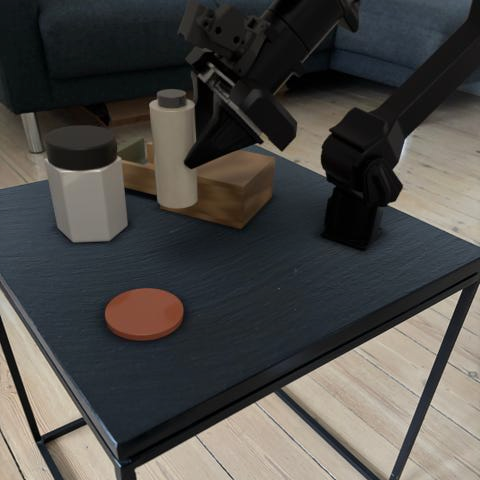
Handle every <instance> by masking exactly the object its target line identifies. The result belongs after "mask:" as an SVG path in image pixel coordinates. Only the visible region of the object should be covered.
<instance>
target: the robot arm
mask: <svg viewBox="0 0 480 480" xmlns="http://www.w3.org/2000/svg"><path fill="white" fill-rule="evenodd" d="M361 3H362V1H361V0H273V2H272V3H271V4H270V5H269V6H268V8H266V10H265V11H264V12H263V13H262V15H261V16H260V17H258V16H256V15H254V14H252V15H248V16H247V17H245V16H246V14H245V12H244V11H242V10H240V9H238V8H236V7H234V6H233V5H231V4H229V3H227V2H223V3H222V4H220V6H218V7H217V8H216V10H213V9H212V8H210V7H208V6H206V5H204V4H203V3H200V2H199V1H196V0H188V3H187V5H186V8H185V10H184V13H183V16H182V19H181V22H180V24H179V27H178V30H177V35H178V36H180V37H181V36H182V37H184V40H185V41H186V42H188V43H190V44H191V45H193V46H194V47H193V49H191V51H190V52H189V53H188V55H187V56H186V57H185V58H184V60H185V61H186V63H188V64H189V65H190V66H191V68H193V69H194V70H195V72H194V71H193V70H191V72H190V78H191V81H192V88H193V97H192V99H191V101H193V102H194V103H195V120H196V142H195V144H194V145H193V147H192V148H191V150H190V151H189V153H188V155H187V156H186V158H185V160H184V164H185V165H186V166H187V167H188V168H189V169H194V168H196V167H199V166H201V165H203V164H206V163H208V162H210V161H213V160H215V159H217V158H220V157H222V156H225V155H227V154H229V153H232V152H235V151H237V150H243V149H245V148H249V147H251V146H254V145H257V144H258V145H259V146H261V145H263V144H264V143H265V140H263V139H262V138H261V135H265V137H266V138H267V140H268V141H269V142H270V143H271V144H272V145H273V146H274V147H275V148H276V149H278V150H279V151H280V152H281V153H283V152H284V151H285V150H286V149H287V148H288V146H289V145H290V144H291V143H292V142H293V141H294V140H295V139H296V138H297V132H298V121H297V120H296V119H295V117H294V116H293V115H292V114H291V113H290V112H289V111H288V110H287V109H286V107H285V106H284V105H283V104H282V103H281V102H280V101H279V99H278V98H277V97H276V96H275V95H276V94H277V93H278V91H279V90H280V89H281V88H282V87H283V86H284V85H285V83H286V82H287V81H288V80H289V79H290V78H291V76H293V75H294V76H296V77H297V78H299V79H301V78H302V77H303V75H304V74H306V72H307V71H308V68H307V67H306V66H305V65H304V62H305V61H306V60H307V59H308V57H309V56H310V55H311V54H312V53H313V52H314V50H315V49H316V48H318V46H319V45H320V44H321V43H322V42H323V40H324V39H325V38H326V37H327V36H328V35H329V33H331V32H332V30H333V29H334V28H335V27H336V25H337V26H338V27H340V28H342V29H345V30H347V31H348V32H351V33H353V34H356V33H357V32H358V31H359V29H360V14H359V13H360V8H361ZM470 3H471V4H470V6H469V10H468V14H467V17H466V20H465V21H464V22H463V23H462V24H461V25H460V26H459V27H458V28H457V29H456V30H455V31H454V32H453V33H452V34H451V35H450V36H449V37H448V38H447V39H446V40H445V41H444V42H443V43H442V44H441V45H440V46H439V47H438V48H437V49H436V50H435V51H434V52H433V53H431V55H430V56H429V57H428V58H427V59H426V60H425V61H424V62H423V63H422V64H421V65H420V66H418V68H417V69H416V70H415V71H414V72H413V73H412V74H411V75H410V76H409V77H408V78H406V79H405V81H403V83H402V84H401V85H399V87H398V88H396V90H394V91H393V93H392V94H390V95H389V96H388V97H387V98H386V100H384V102H382V103H381V104H380V106H378V107H377V108H375V109H373V110H370V111H366V110H364V109H361V108H360V107H357V106H354V107H352V108H351V109H350V110H348V111H347V113H346V114H345V115H344V117H343V118H342V119H341V120H340V121H339V122H338V123H336V125H334V126H332V127H330V128H329V129H328V132H330V134H329V135H328V136H327V137H326V138H325V140H324V141H323V143H322V144H321V146H320V147H321V153H320V165H321V168H322V169H323V170H324V172H325V178H326V181H327V182H328V183H329V184H332V185H333V186H335V187H333V189H332V193H331V195H330V196H329V197H328V198H327V202H326V208H325V213H324V220H323V226H324V228H323V229H322V230H321V231H320V236H321V237H323V238H326V239H329V240H332V241H335V242H338V243H341V244H344V245H347V246H349V247H353V248H356V249H358V250H361V251H366V250H367V249H368V248H370V246H371V245H372V244H373V243H374V242H375V241H376V240H377V239H378V238H379V237H380V236H381V235H382V234H383V231H384V229H383V228H382V227H381V224H382V219H383V214H384V211H385V208H387V207H388V205H389V204H392V203H395V202H397V200H398V198H399V196H400V194H401V192H402V190H403V188H404V185H403V182H402V181H401V180H400V179H399V176H398V175H397V174H396V172H395V171H394V169H395V168H396V167H397V165H398V164H399V162H400V159H401V156H402V153H403V149H404V146H405V142H406V140H407V138H408V137H409V136H410V135H411V134H412V133H413V132H414V131H415V130H416V129H417V128H419V126H421V124H422V123H424V122H425V120H426V119H428V118H429V117H430V116H431V114H433V113H434V111H436V110H437V109H438V108H439V107H440V106H441V105H442V104H443V103H444V102H445V101H446V100H447V99H448V98H449V97H450V96H451V95H452V94H453V93H454V92H455V91H456V90H457V89H459V88H460V87H461V85H462V84H463V83H464V82H465V81H467V79H468V78H470V76H472V74H474V73H475V72H476V71H477V70H478V69H479V68H480V0H471V2H470ZM196 72H197V73H198V75H197V74H196Z"/></svg>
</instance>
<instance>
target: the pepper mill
mask: <svg viewBox="0 0 480 480" xmlns="http://www.w3.org/2000/svg"><path fill="white" fill-rule="evenodd" d="M187 97H188V96H187V92H186V91H185V90H181V89H175V88H169V89H168V88H167V89H162V90H159V91H158V92H156V99H155V100H152V101H151V102H149V105H148V107H149V118H150V119H149V120H150V130H151V131H150V132H151V142H152V144H153V156H154V168H155V180H156V192H157V195H156V201H157V203H158V204H159V206H160V205H162V206H164V207H167V208H174V209H179V208H186V207H190V206H192V205H194V204H195V203H196V202H197V200H198V189H197V167H196V168H194V169H189V168H188V167H187V166H186V165H185V164H184V160H185V158H186V156H187V155H188V153H189V151H190V150H191V148H192V147H193V145H194V144H195V142H196V120H195V103H194V102H193V101H192V99H188V98H187Z"/></svg>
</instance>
